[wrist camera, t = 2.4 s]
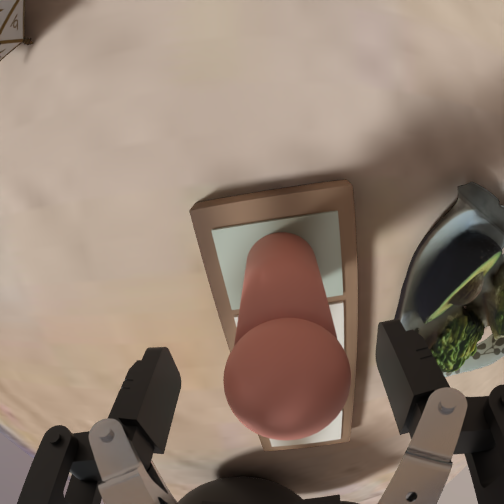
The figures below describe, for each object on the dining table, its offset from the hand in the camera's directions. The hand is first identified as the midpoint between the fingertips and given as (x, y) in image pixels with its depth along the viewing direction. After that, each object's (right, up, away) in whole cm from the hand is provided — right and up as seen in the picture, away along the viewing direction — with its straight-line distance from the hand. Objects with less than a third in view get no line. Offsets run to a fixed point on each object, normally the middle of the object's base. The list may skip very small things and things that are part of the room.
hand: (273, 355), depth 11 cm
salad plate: (+17, +1, +9) cm, 20 cm away
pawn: (+1, +3, +7) cm, 8 cm away
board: (+3, -4, +12) cm, 13 cm away
